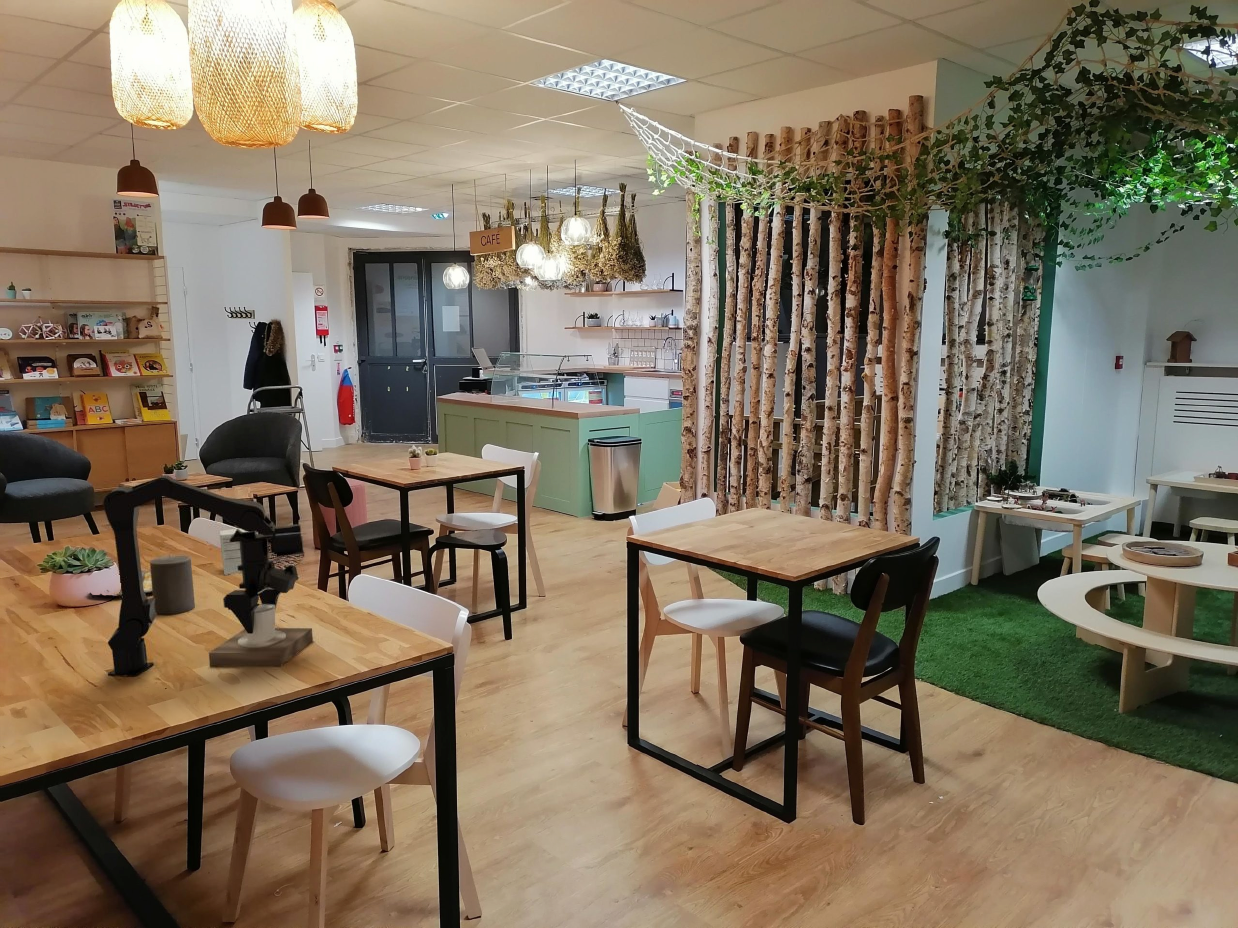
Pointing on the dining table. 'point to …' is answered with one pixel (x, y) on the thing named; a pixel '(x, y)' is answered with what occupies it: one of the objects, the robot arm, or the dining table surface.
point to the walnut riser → (261, 648)
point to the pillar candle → (172, 584)
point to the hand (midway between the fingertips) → (260, 626)
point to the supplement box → (230, 552)
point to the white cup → (263, 623)
